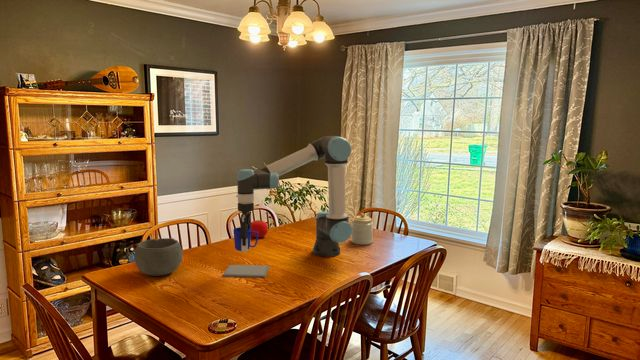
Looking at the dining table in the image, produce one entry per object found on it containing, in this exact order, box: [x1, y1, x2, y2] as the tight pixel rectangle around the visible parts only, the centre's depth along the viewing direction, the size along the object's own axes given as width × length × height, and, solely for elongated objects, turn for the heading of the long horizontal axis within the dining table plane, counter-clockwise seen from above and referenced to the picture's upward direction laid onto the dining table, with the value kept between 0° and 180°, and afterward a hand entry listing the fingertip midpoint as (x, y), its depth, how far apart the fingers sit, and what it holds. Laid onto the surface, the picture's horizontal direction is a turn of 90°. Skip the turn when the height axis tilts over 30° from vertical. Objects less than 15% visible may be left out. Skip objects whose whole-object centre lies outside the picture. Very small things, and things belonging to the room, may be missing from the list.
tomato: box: [251, 219, 269, 239], centre depth 267 cm, size 11×12×10 cm
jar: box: [350, 212, 374, 246], centre depth 258 cm, size 13×13×18 cm
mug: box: [232, 226, 259, 252], centre depth 205 cm, size 8×12×10 cm
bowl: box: [134, 237, 183, 277], centre depth 203 cm, size 21×21×15 cm
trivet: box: [221, 264, 270, 278], centre depth 207 cm, size 20×14×1 cm
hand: (246, 249), depth 206 cm, fingers closed on mug, 7 cm apart
